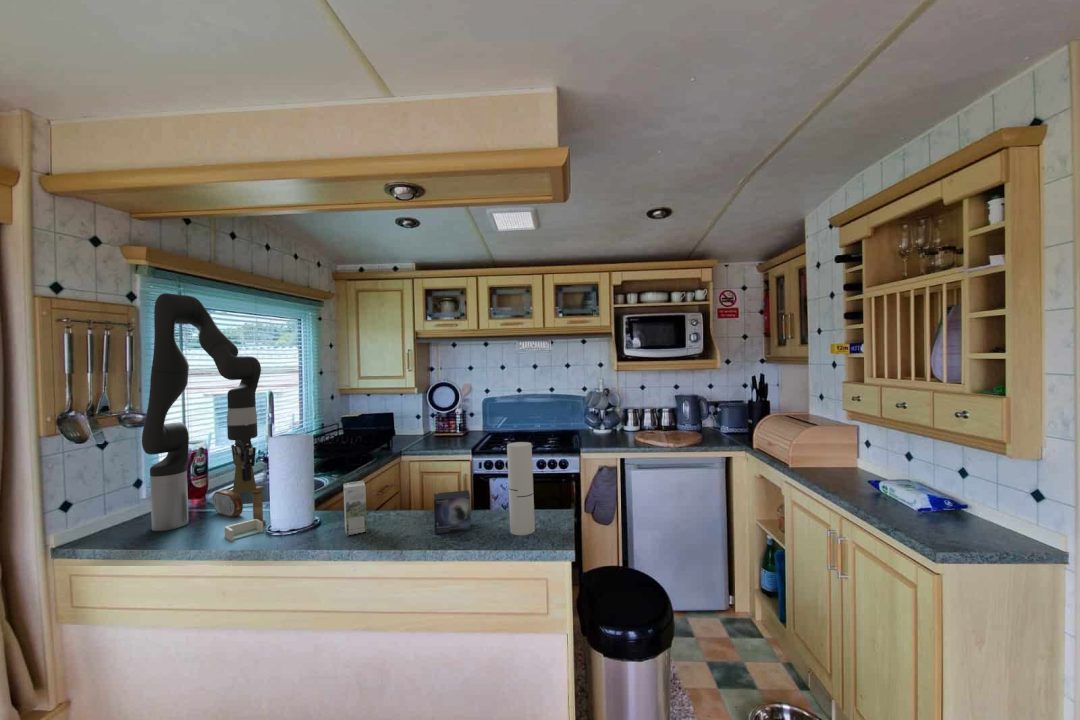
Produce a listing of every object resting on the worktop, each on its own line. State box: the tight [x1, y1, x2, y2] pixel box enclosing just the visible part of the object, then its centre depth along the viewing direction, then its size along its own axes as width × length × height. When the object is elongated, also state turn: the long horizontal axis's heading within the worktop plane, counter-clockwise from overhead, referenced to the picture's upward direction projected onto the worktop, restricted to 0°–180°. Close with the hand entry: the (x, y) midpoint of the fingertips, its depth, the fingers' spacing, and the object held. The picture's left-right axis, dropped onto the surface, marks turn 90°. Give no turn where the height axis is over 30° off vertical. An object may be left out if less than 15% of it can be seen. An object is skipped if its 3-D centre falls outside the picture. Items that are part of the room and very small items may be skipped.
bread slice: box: [212, 488, 244, 518], centre depth 156 cm, size 15×3×8 cm, turn 60°
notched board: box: [224, 519, 264, 542], centre depth 136 cm, size 6×8×3 cm, turn 140°
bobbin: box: [250, 485, 267, 526], centre depth 144 cm, size 4×4×12 cm
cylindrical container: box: [506, 441, 536, 536], centre depth 131 cm, size 7×7×25 cm
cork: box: [232, 455, 257, 494], centre depth 135 cm, size 6×6×11 cm
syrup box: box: [343, 480, 368, 537], centre depth 135 cm, size 6×6×14 cm
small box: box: [433, 489, 472, 535], centre depth 134 cm, size 11×6×10 cm, turn 103°
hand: (244, 479), depth 135 cm, fingers closed on cork, 4 cm apart
